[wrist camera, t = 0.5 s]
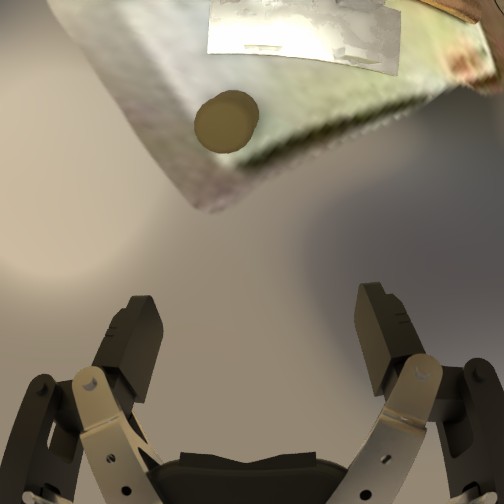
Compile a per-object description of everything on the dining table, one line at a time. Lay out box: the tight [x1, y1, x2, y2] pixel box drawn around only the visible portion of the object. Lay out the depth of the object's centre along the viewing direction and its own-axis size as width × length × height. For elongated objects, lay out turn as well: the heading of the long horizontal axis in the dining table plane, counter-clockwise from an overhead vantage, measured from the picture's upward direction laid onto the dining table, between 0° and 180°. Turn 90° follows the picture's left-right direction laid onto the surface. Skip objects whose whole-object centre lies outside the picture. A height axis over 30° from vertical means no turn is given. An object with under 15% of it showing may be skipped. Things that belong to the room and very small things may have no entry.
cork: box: [194, 90, 259, 153], centre depth 27 cm, size 6×6×11 cm
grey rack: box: [208, 0, 401, 76], centre depth 23 cm, size 9×22×6 cm, turn 87°
